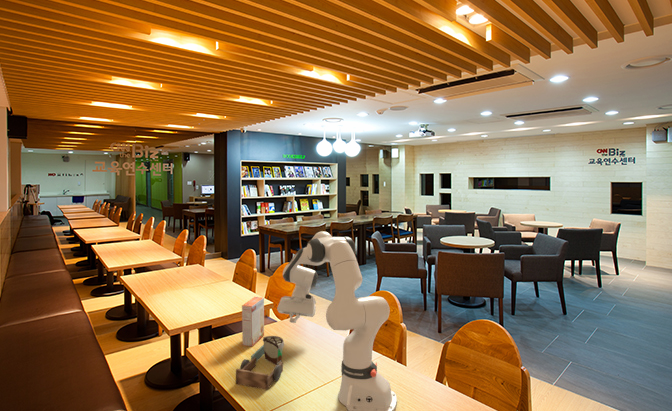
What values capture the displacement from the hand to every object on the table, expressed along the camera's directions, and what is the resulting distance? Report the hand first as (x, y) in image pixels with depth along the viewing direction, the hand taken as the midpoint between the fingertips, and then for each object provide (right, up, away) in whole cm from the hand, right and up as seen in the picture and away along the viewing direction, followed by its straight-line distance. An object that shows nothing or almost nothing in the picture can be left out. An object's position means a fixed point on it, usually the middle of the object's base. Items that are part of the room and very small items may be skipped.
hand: (292, 322), depth 184 cm
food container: (-6, -12, -17) cm, 22 cm away
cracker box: (-21, -11, +3) cm, 23 cm away
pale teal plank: (-14, -12, -15) cm, 23 cm away
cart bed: (-10, -13, -31) cm, 35 cm away
